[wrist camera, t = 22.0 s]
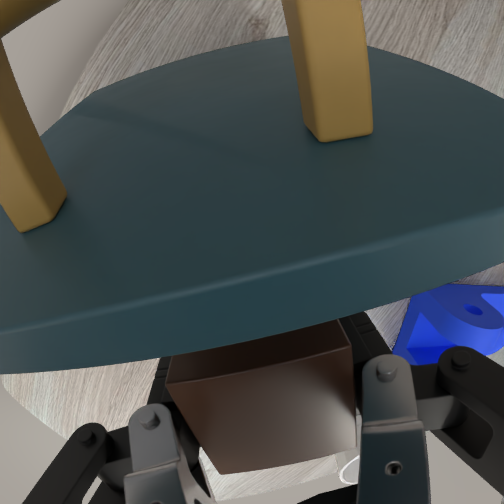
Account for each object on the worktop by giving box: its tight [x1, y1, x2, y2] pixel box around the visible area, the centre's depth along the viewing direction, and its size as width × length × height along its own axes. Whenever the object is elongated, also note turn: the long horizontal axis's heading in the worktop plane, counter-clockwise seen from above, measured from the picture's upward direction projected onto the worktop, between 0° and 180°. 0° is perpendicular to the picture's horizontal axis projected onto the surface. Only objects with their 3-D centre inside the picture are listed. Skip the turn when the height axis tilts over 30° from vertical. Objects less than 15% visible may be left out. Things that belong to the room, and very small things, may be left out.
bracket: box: [392, 284, 504, 365], centre depth 26 cm, size 18×8×9 cm, turn 84°
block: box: [165, 319, 357, 475], centre depth 10 cm, size 4×4×4 cm
